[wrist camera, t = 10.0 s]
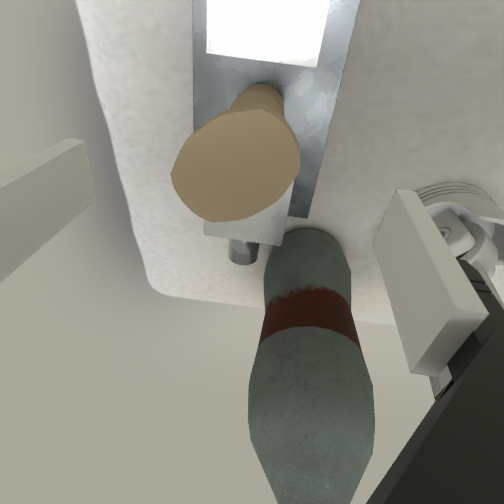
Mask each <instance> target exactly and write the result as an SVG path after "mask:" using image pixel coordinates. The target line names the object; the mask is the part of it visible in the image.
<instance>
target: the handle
mask: <svg viewBox="0 0 504 504" xmlns="http://www.w3.org/2000/svg"><path fill="white" fill-rule="evenodd" d="M299 172H300V148H299V144H298V141H297V138H296V136H295V134H294V132H293V130H292V128H291V126H290V125H289V124H288V122H287V121H286V120H285V118H284V104H283V99H282V97H281V96H280V94H279V93H278V91H277V90H276V89H275V86H274V85H273V84H271V83H269V84H252V85H251V86H249V87H248V88H247V89H245V90H244V91H243V92H242V93H241V94H239V95H238V97H237V98H236V99H235V100H234V102H233V103H232V105H231V106H230V108H229V109H228V110H224V111H221V112H220V113H218V114H216V115H215V116H214V117H212V118H211V119H210V120H208V121H207V122H206V123H205V124H203V125H202V126H201V127H200V128H198V129H197V130H196V131H195V132H194V133H193V134H192V135H191V136H190V137H189V138H188V140H187V141H186V142H185V144H184V145H183V147H182V149H181V150H180V153H179V155H178V157H177V159H176V162H175V164H174V167H173V169H172V172H171V178H172V182H173V185H174V188H175V190H176V192H177V194H178V195H179V197H180V198H181V200H182V201H183V202H184V204H185V205H186V206H187V207H188V208H189V209H190V210H191V211H192V212H194V213H195V214H196V215H198V216H199V217H201V218H203V219H205V220H207V221H210V222H212V223H214V222H227V221H237V220H242V219H246V218H248V217H251V216H253V215H255V214H257V213H259V212H260V211H262V210H264V209H266V208H268V207H269V206H271V205H272V204H274V203H275V202H277V201H278V200H279V199H280V198H281V197H282V196H283V195H284V193H285V192H286V191H287V189H288V188H289V186H290V185H291V184H292V182H293V181H294V179H295V178H296V176H297V175H298V173H299Z"/></svg>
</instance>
